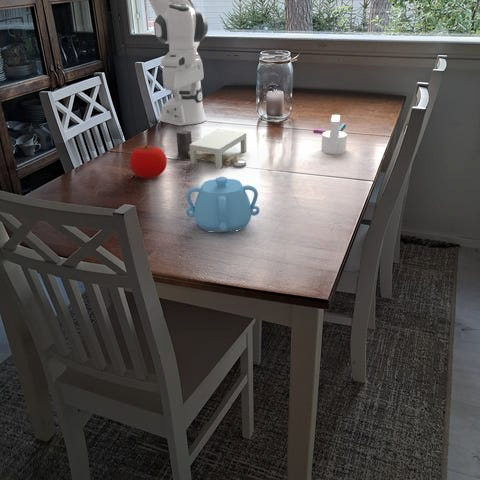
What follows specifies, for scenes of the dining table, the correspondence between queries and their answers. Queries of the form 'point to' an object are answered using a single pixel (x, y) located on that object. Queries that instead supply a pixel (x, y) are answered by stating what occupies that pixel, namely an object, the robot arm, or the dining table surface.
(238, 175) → the dining table surface
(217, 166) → the low bench
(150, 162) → the tomato
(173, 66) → the robot arm
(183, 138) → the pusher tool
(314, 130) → the squeegee
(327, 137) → the cylinder with rectangular tab
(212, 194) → the decorative pot
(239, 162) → the steel puck
